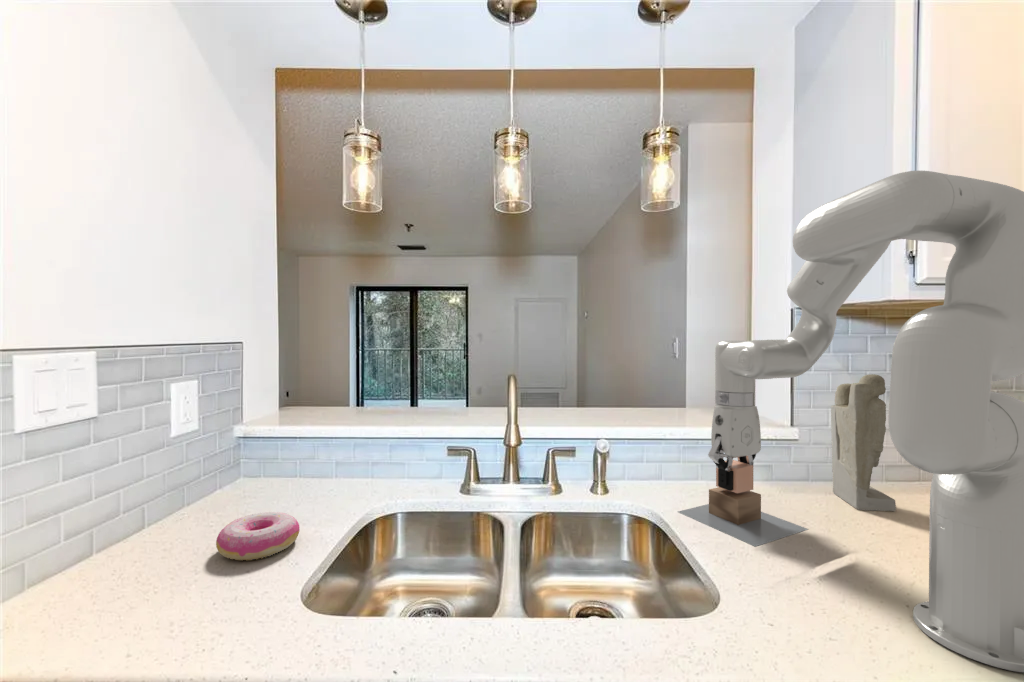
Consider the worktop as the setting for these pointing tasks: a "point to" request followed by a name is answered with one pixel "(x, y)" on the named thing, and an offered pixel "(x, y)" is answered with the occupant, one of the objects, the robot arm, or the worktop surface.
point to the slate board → (746, 526)
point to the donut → (257, 535)
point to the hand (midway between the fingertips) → (734, 485)
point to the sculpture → (859, 442)
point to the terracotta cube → (740, 477)
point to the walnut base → (735, 505)
